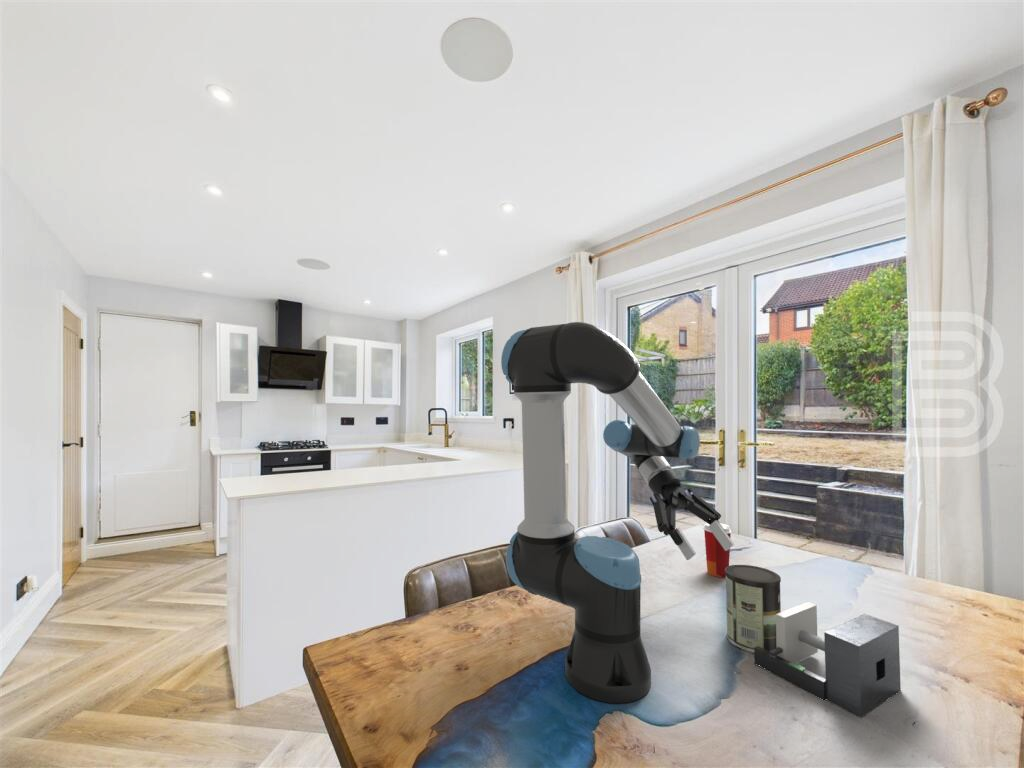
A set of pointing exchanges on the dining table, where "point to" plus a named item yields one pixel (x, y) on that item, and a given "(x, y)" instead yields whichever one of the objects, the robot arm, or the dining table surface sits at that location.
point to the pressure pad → (797, 633)
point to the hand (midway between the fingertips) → (711, 552)
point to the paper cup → (716, 552)
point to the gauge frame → (848, 665)
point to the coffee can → (752, 606)
